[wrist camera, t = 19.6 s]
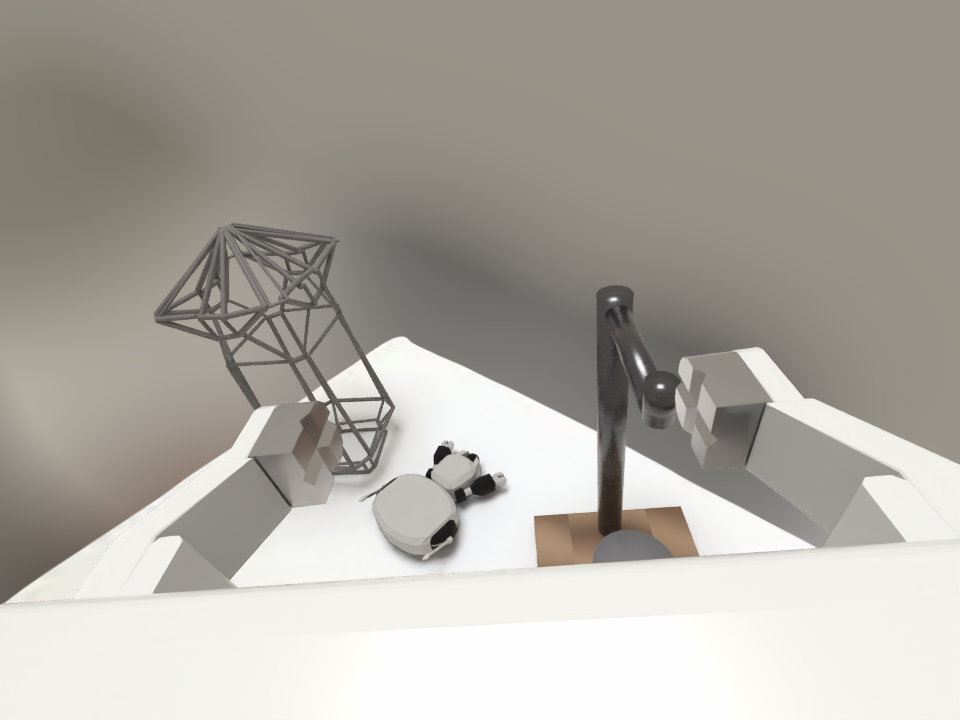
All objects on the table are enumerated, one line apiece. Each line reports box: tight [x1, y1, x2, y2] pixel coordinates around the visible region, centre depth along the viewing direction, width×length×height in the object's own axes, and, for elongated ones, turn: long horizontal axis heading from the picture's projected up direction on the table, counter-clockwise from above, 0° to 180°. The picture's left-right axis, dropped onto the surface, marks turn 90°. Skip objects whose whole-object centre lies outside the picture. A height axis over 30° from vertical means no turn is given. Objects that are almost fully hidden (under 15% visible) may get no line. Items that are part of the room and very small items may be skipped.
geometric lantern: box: [154, 223, 395, 474], centre depth 54 cm, size 16×16×35 cm
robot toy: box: [359, 441, 506, 561], centre depth 54 cm, size 12×4×15 cm
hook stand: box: [597, 285, 681, 537], centre depth 34 cm, size 12×2×30 cm, turn 178°
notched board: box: [534, 506, 699, 567], centre depth 43 cm, size 16×16×2 cm
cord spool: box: [593, 530, 674, 564], centre depth 38 cm, size 6×6×11 cm
